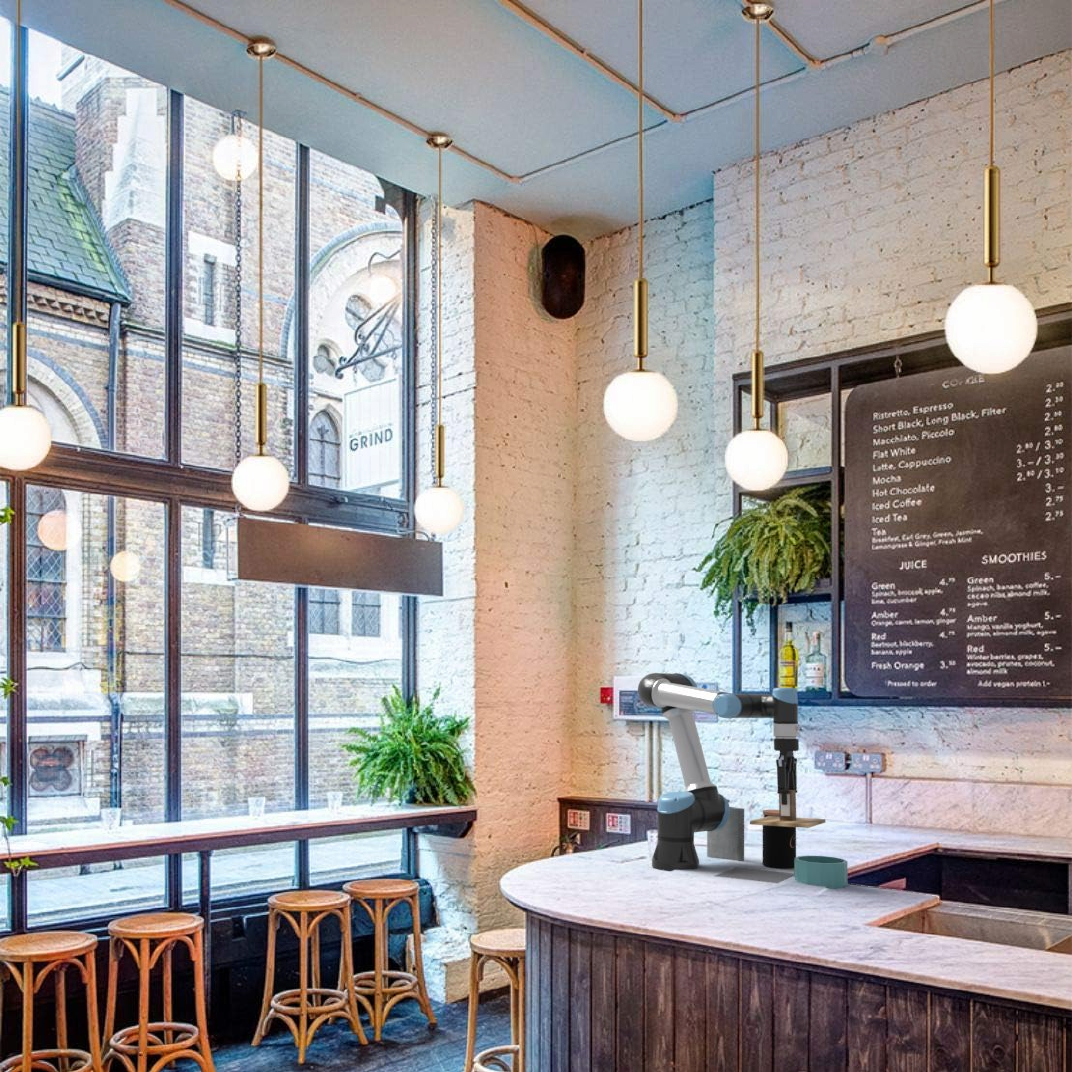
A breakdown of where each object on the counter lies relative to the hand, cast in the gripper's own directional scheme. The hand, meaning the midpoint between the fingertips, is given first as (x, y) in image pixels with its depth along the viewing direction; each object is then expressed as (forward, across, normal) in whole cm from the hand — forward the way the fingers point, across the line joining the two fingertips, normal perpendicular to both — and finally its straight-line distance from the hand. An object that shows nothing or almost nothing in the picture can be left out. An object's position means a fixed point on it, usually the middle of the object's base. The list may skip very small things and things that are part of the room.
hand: (787, 815), depth 354 cm
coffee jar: (+19, +21, +10) cm, 30 cm away
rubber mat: (+19, 0, +11) cm, 22 cm away
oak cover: (+3, 0, 0) cm, 3 cm away
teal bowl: (+20, +1, -9) cm, 22 cm away
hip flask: (+19, +27, +31) cm, 45 cm away
